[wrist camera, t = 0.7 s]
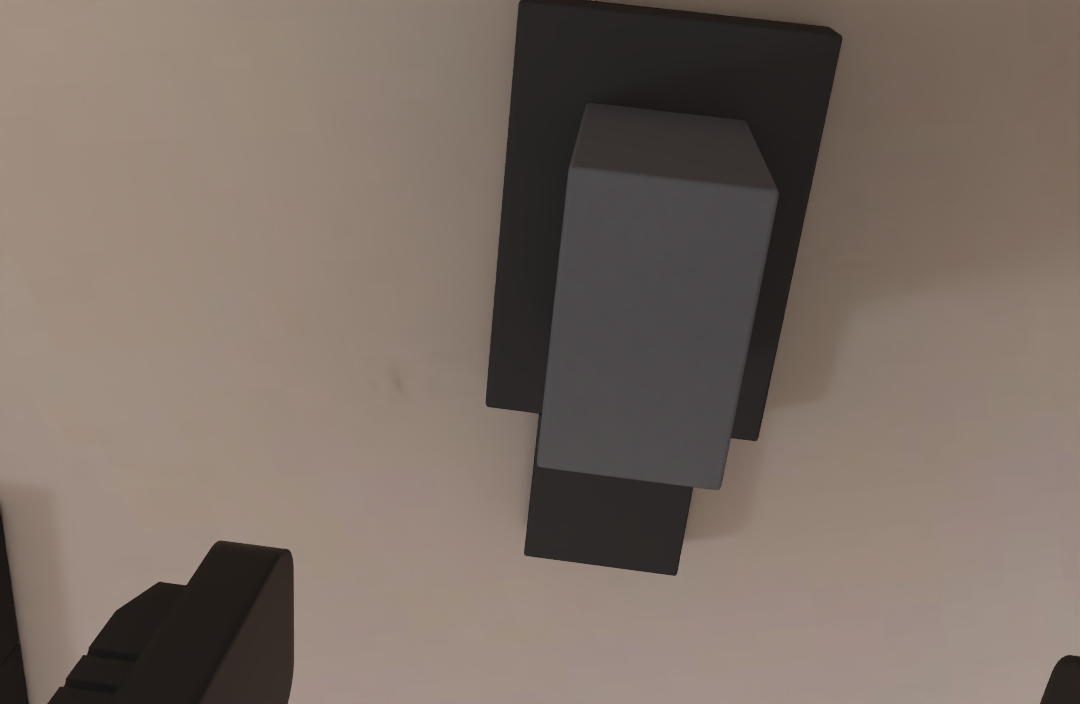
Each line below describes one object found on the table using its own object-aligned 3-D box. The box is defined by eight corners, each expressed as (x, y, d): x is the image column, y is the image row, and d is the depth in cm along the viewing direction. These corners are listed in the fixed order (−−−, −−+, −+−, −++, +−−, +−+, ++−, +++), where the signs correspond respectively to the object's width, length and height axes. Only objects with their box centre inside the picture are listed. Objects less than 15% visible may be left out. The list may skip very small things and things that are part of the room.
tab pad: (525, -7, 24) (478, 33, 17) (832, 26, 23) (911, 81, 16) (480, 519, 29) (432, 707, 23) (724, 551, 29) (749, 752, 22)
